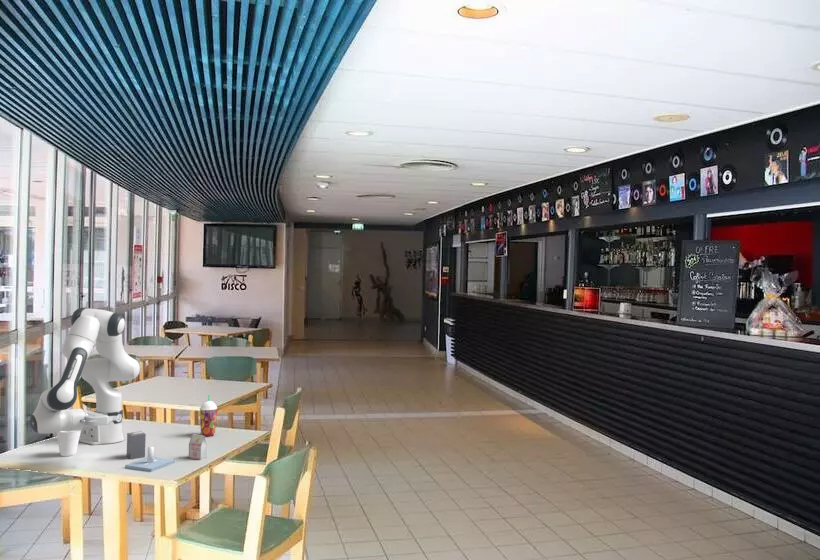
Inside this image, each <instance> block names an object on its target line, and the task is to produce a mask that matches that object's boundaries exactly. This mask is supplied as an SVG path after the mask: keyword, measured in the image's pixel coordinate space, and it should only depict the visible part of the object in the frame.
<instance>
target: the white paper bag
mask: <svg viewBox="0 0 820 560" xmlns="http://www.w3.org/2000/svg"><path fill="white" fill-rule="evenodd" d="M207 456H208V444H207V441H206V437H205V436H203V435H202V434H196V433H191V436H190V440H189V443H188V459H193V460H198V461H199V460H201V461H202V460H205V459H207V458H208V457H207Z"/></svg>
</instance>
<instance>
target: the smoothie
mask: <svg viewBox="0 0 820 560" xmlns="http://www.w3.org/2000/svg"><path fill="white" fill-rule="evenodd" d="M207 397H208V398H207V400H206V401H204V402H202V404H201V405H200V407H199V415H200V417H199V418H200V421H199V422H200V435H203V436H205V438H208V437H210V436H211V437H213V436H214V435H215V434H216V429H217V427H216V426H217V418H218V417H217V416H218V406H217V404H216V403H215V402H214V401H213V400H210V399H211V398H210V397H211V396H210V395H209V394H208V396H207ZM211 437H210V438H211Z"/></svg>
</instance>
